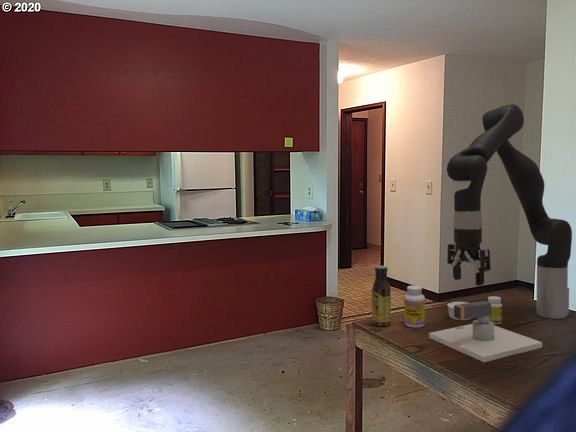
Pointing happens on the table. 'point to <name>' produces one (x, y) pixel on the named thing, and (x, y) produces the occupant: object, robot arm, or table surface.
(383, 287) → the sauce bottle
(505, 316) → the table surface
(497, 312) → the supplement bottle
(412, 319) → the supplement bottle
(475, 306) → the handle
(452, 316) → the ramekin
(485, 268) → the robot arm
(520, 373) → the table surface
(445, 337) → the base
